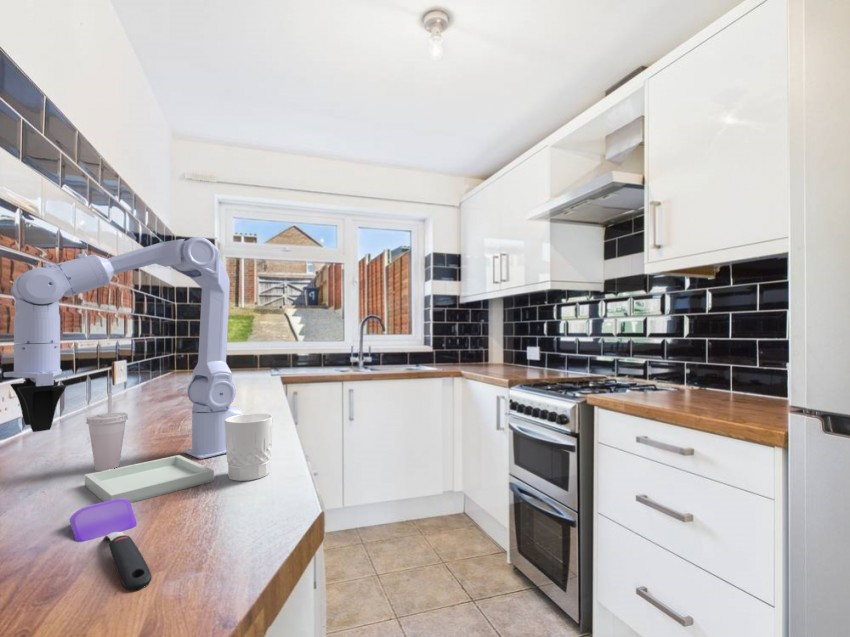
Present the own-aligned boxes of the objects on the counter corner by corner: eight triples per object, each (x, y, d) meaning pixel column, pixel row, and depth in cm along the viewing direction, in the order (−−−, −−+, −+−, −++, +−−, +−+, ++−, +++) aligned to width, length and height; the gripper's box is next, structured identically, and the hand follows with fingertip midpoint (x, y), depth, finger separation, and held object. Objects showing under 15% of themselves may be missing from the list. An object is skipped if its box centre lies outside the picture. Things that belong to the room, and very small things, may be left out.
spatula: (177, 580, 46) (176, 556, 47) (96, 610, 42) (96, 583, 42) (128, 513, 64) (128, 495, 64) (67, 528, 59) (67, 509, 59)
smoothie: (106, 474, 80) (106, 395, 80) (76, 472, 81) (76, 394, 82) (136, 463, 86) (136, 390, 87) (108, 461, 88) (108, 389, 88)
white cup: (281, 474, 79) (281, 417, 79) (237, 486, 73) (236, 424, 73) (259, 465, 84) (259, 411, 84) (217, 475, 78) (216, 418, 79)
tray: (179, 464, 85) (179, 454, 85) (213, 481, 76) (213, 470, 76) (84, 485, 74) (84, 474, 74) (111, 508, 65) (111, 495, 65)
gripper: (-1, 343, 75) (-2, 425, 75) (9, 345, 65) (9, 439, 65) (53, 342, 80) (53, 418, 80) (70, 343, 70) (70, 430, 70)
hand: (37, 427), depth 73 cm, fingers open, 7 cm apart
